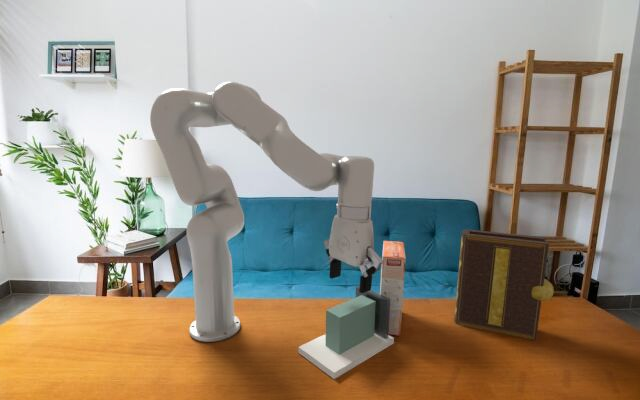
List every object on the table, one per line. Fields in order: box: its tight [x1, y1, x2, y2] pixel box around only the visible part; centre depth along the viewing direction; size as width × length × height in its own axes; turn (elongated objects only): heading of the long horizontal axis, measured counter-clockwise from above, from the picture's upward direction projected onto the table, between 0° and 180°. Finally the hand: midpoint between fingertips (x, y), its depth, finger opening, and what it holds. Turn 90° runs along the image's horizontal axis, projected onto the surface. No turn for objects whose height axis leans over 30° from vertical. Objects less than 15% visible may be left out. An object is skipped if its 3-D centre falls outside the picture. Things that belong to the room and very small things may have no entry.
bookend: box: [355, 285, 390, 339], centre depth 90 cm, size 10×1×10 cm, turn 41°
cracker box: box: [379, 240, 406, 337], centre depth 96 cm, size 14×6×21 cm, turn 169°
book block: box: [325, 295, 376, 355], centre depth 85 cm, size 4×12×9 cm, turn 132°
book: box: [453, 229, 555, 341], centre depth 93 cm, size 22×8×25 cm, turn 68°
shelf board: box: [297, 333, 395, 380], centre depth 85 cm, size 12×20×2 cm, turn 131°
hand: (349, 284), depth 84 cm, fingers open, 9 cm apart
